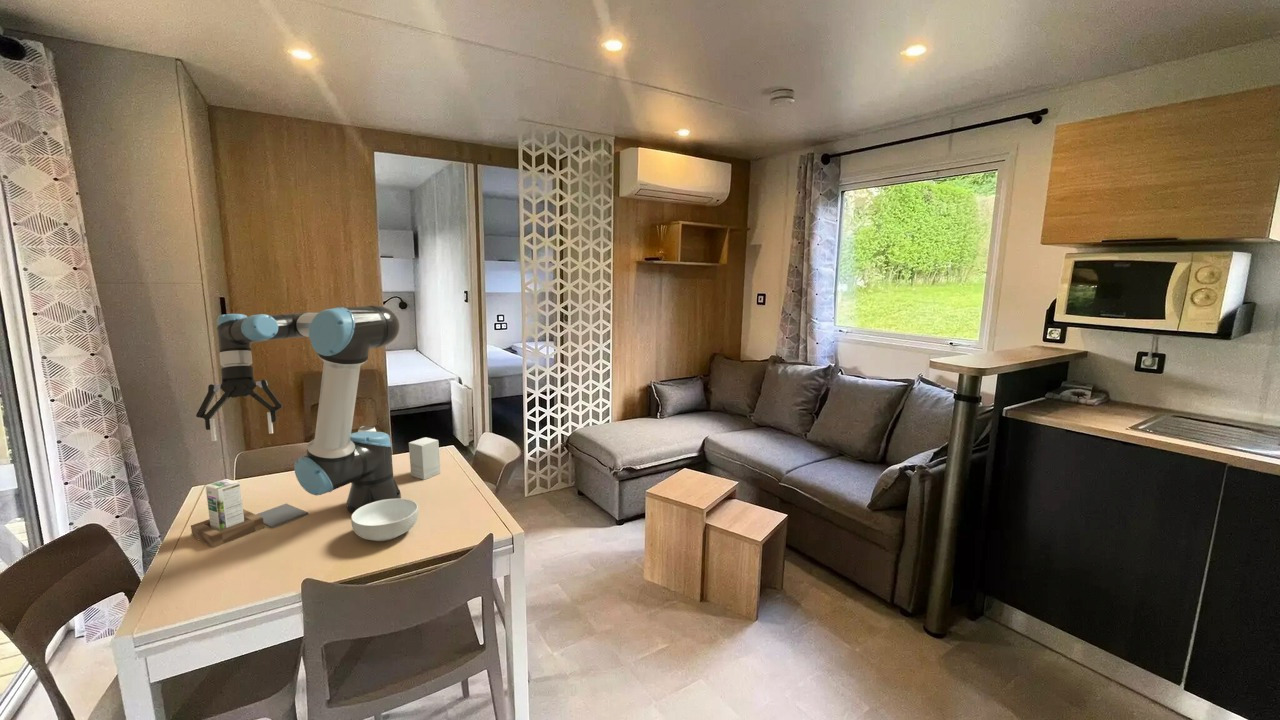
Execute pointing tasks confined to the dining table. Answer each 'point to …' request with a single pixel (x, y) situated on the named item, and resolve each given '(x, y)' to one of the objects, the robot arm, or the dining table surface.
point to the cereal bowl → (384, 519)
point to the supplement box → (424, 458)
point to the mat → (281, 515)
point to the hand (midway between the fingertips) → (243, 437)
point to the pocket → (227, 530)
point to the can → (366, 428)
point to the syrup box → (224, 504)
